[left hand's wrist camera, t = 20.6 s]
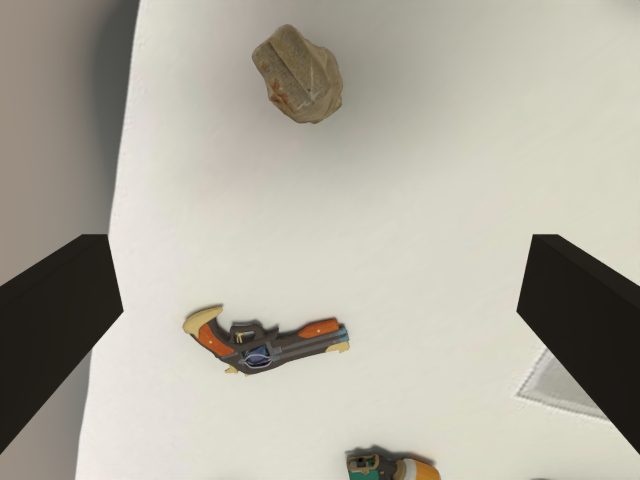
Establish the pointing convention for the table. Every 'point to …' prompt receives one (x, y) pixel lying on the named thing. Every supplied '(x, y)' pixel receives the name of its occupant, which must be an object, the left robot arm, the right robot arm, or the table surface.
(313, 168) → the table surface
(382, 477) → the spray gun
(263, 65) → the sculpture
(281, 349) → the toy gun
